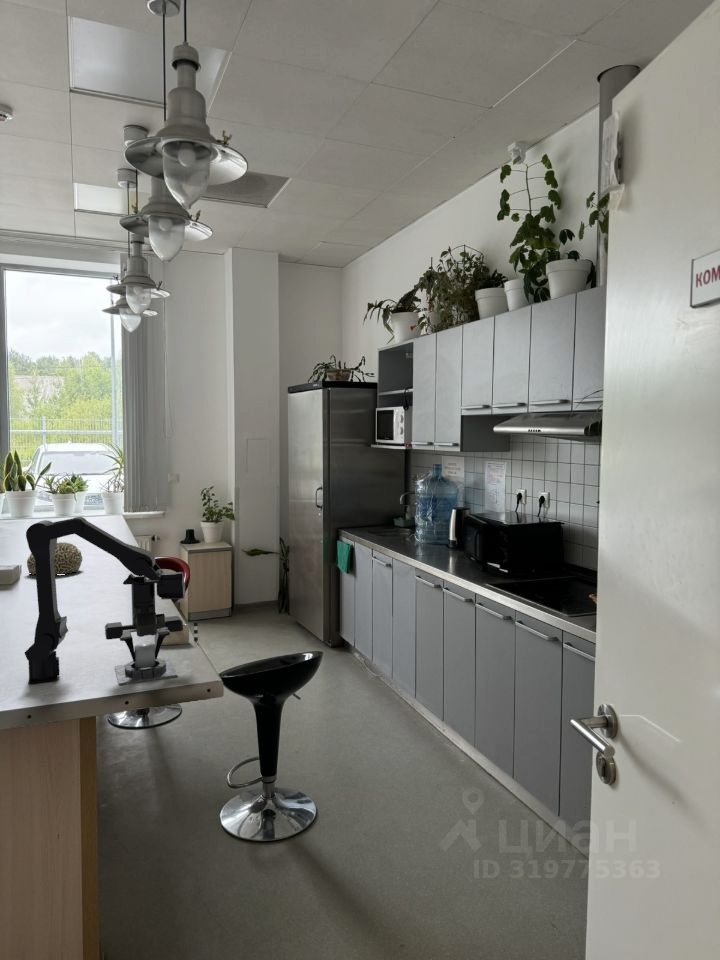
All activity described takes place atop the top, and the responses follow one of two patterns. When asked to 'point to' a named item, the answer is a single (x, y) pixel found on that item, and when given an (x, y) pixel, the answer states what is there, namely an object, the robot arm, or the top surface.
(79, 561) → the coral
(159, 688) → the top surface
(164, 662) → the notched ring on plate
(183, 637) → the cuneiform tablet
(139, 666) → the cap
